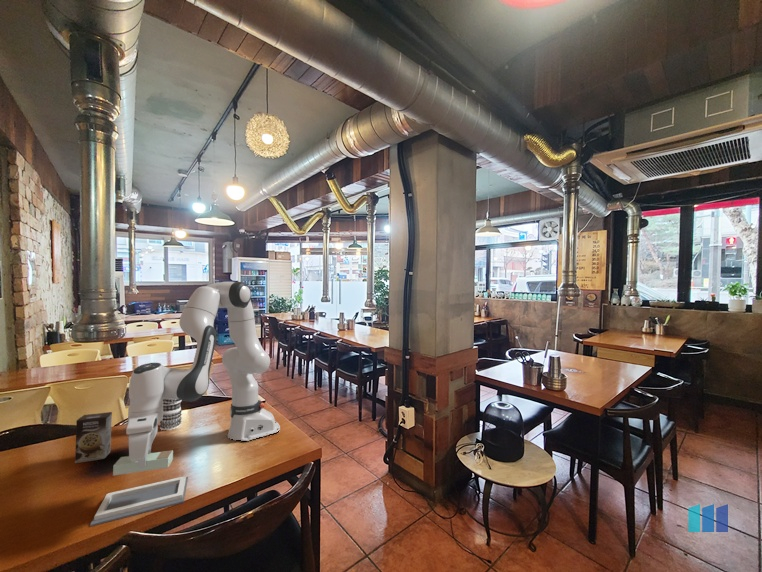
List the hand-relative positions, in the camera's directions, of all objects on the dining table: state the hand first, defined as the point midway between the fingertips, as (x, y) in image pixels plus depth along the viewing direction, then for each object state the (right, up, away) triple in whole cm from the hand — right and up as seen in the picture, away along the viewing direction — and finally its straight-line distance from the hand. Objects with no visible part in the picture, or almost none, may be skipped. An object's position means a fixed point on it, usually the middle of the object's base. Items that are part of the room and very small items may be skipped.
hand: (144, 461), depth 98 cm
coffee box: (-38, -12, +24) cm, 47 cm away
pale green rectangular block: (0, -2, 0) cm, 2 cm away
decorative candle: (-27, -13, +52) cm, 59 cm away
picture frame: (0, -12, 0) cm, 12 cm away
